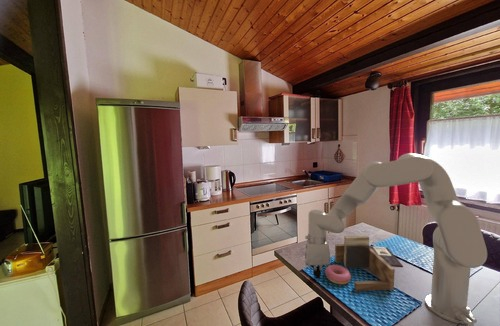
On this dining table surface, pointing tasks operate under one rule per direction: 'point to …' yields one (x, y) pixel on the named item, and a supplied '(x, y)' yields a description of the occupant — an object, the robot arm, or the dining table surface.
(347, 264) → the dark grey square tile
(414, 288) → the dining table surface
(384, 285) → the wooden frame
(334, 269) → the doughnut
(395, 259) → the chocolate bar
